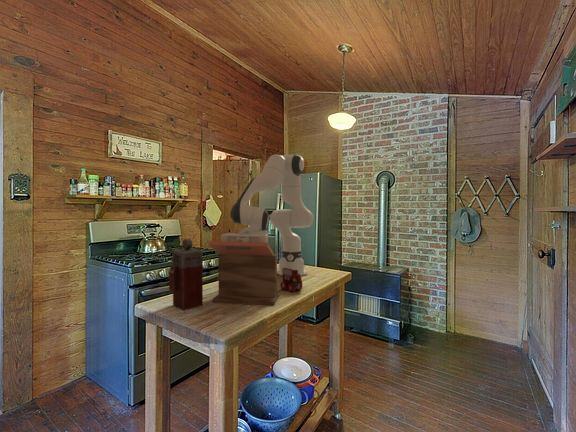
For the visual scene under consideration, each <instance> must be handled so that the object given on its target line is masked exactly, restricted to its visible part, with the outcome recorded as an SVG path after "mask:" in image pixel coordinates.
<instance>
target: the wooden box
mask: <svg viewBox="0 0 576 432" xmlns="http://www.w3.org/2000/svg"><path fill="white" fill-rule="evenodd" d="M217 259H218V294H216V295H215V296H214V297H213V298H212V303H217V304H218V303H220V304H221V303H222V304H223V303H224V304H238V305H239V304H240V305H262V306H275V304H276V302H277V300H278V299H279V297H280V292H279V291H278V274H277V271H278V253H273V255H239V254H220V253H218V257H217Z"/></svg>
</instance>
